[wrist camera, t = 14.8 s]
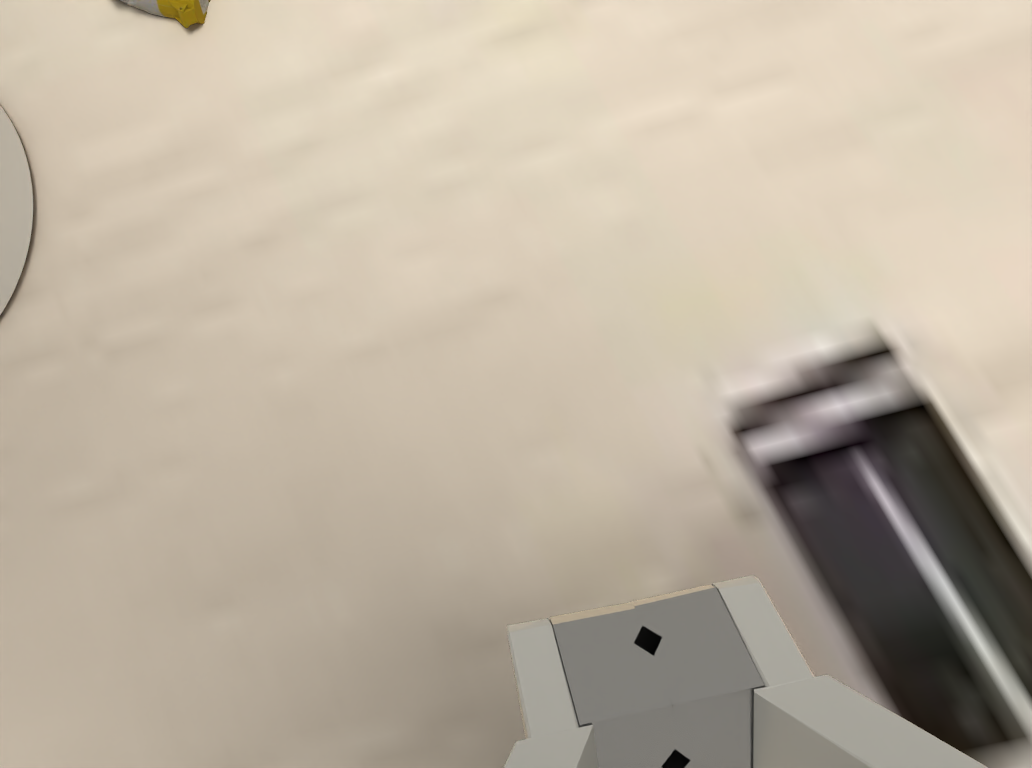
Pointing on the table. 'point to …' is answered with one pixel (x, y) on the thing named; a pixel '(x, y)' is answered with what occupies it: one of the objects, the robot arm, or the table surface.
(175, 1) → the extension cord
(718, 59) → the table surface
